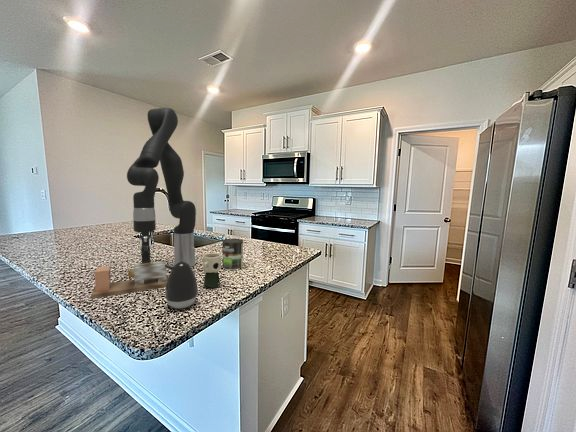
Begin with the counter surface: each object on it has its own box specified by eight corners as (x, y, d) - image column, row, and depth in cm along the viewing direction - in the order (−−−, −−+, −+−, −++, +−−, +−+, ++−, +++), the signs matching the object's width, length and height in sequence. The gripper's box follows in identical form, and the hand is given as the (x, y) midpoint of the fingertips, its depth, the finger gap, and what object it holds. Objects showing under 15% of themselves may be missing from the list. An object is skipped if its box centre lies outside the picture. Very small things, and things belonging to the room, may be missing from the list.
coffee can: (235, 272, 118) (235, 243, 116) (217, 269, 122) (217, 241, 120) (246, 266, 127) (247, 239, 126) (230, 263, 131) (230, 237, 130)
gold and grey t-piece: (165, 271, 104) (164, 245, 102) (166, 273, 101) (165, 247, 100) (128, 275, 97) (127, 248, 96) (128, 278, 94) (127, 250, 93)
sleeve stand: (167, 278, 108) (167, 259, 107) (169, 286, 99) (169, 265, 98) (95, 288, 95) (94, 267, 94) (91, 298, 86) (90, 275, 85)
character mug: (212, 292, 95) (212, 259, 93) (196, 289, 96) (195, 257, 95) (226, 282, 105) (226, 252, 104) (211, 280, 107) (211, 251, 106)
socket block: (111, 284, 96) (110, 265, 95) (109, 290, 90) (108, 270, 90) (98, 286, 93) (97, 267, 93) (95, 292, 88) (94, 272, 88)
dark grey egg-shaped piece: (171, 298, 89) (171, 257, 87) (201, 298, 89) (201, 257, 88) (159, 312, 78) (158, 266, 77) (193, 312, 79) (192, 266, 78)
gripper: (156, 221, 92) (157, 262, 94) (154, 216, 104) (155, 253, 106) (132, 221, 88) (134, 265, 90) (133, 217, 100) (135, 255, 102)
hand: (145, 259), depth 98 cm, fingers open, 8 cm apart
